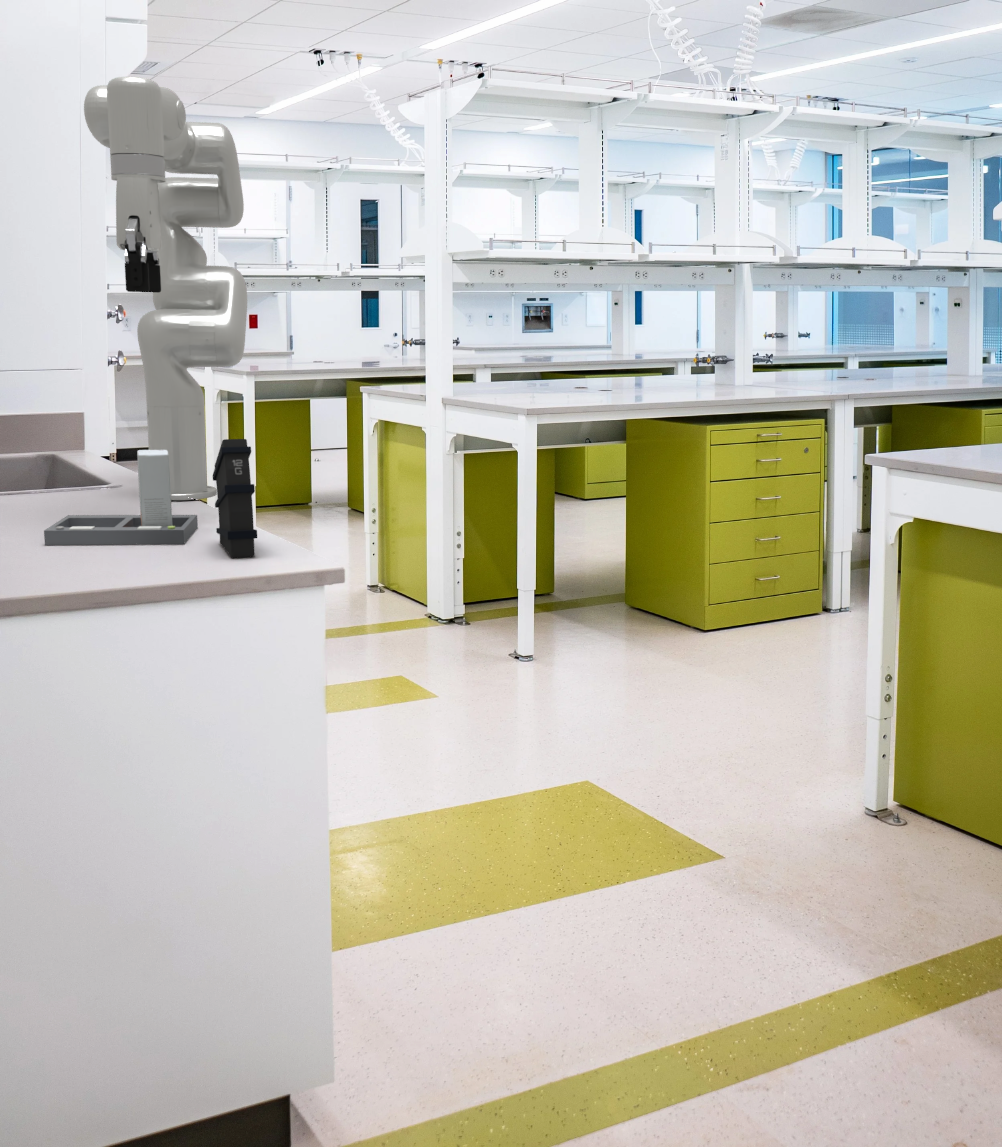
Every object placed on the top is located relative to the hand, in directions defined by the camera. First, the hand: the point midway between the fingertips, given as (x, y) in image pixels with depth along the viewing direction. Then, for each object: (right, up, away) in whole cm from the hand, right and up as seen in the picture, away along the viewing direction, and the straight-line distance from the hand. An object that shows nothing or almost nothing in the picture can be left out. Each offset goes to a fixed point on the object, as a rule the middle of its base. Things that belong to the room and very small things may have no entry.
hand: (144, 291), depth 175 cm
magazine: (+17, -38, -15) cm, 45 cm away
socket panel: (0, -36, -8) cm, 37 cm away
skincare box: (+4, -36, -7) cm, 37 cm away
